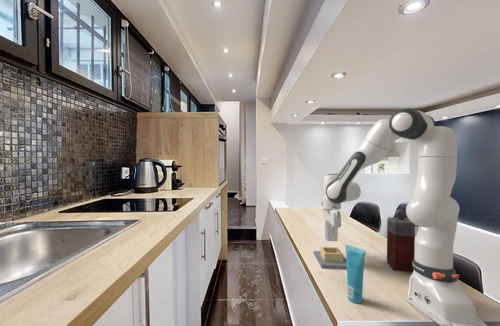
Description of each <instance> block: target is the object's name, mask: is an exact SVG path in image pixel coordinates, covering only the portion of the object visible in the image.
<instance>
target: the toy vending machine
mask: <svg viewBox="0 0 500 326" xmlns="http://www.w3.org/2000/svg"><path fill="white" fill-rule="evenodd" d="M394 216H395V217H392V216H388V217H387V218H386V219H387V221H386V223H387V224H386V225H387V226H386V264H388V266H389V268H391V269H392V270H393V271H397V272H404V273H405V272H406V273H413V271H414V269H413V258H414V246H415V236H416V225H415V224H414V223H412V222H411V221H410V220H409V218H406V217H407V214H406V210H405V211H404V210H403V209H397V210H395V211H394Z"/></svg>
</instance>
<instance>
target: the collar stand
mask: <svg viewBox="0 0 500 326" xmlns="http://www.w3.org/2000/svg"><path fill="white" fill-rule="evenodd" d="M319 249H320V250H314V251H313V255H314V257H315V258H316V261H317V262H318V264H319V265H320V266H319V267H320V268H321V269H332V270H333V269H336V270H347V260H346V257H344V253H343V252H342V251H341V250H340V249H339V247H333V246H320V248H319Z"/></svg>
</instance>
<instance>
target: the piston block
mask: <svg viewBox="0 0 500 326" xmlns="http://www.w3.org/2000/svg"><path fill="white" fill-rule="evenodd" d="M324 221H325V222H324V239H325V240H326V241H327V242H338V241H339V239H338V238H339V237H338V235H339V228H336V230H335V234H332V233H331V229H332V227H331V224H330V223H329V221H328V220H327V219H324Z"/></svg>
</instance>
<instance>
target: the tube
mask: <svg viewBox="0 0 500 326" xmlns="http://www.w3.org/2000/svg"><path fill="white" fill-rule="evenodd" d="M344 248H345V259H346V260H347V269H346V280H347V281H346V283H347V285H346V287H347V288H346V289H347V299H348V300H349V302H350V303H351V302H352V303H355V304H361V303H362V302H363V290H364V289H363V288H364V271H365V259H366V253H367V250H366V249H362V248H358V247H355V246H352V245H349V244H345V247H344Z"/></svg>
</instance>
